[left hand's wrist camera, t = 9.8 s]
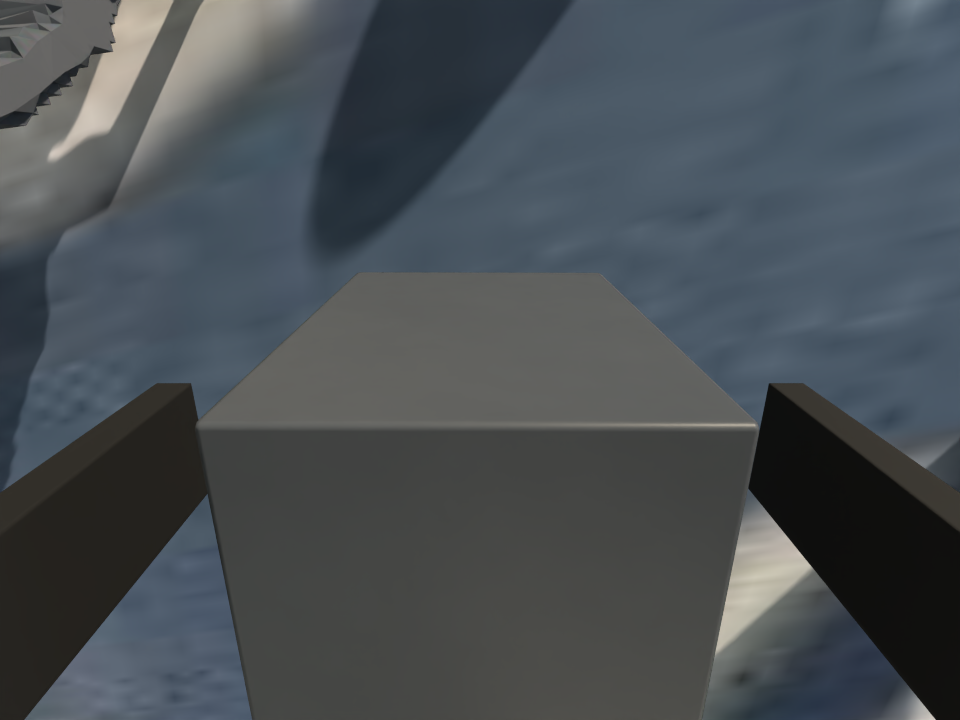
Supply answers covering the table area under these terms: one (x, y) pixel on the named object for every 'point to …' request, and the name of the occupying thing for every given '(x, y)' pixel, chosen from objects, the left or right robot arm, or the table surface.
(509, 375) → the box
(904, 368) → the table surface
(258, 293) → the table surface
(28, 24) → the toy
